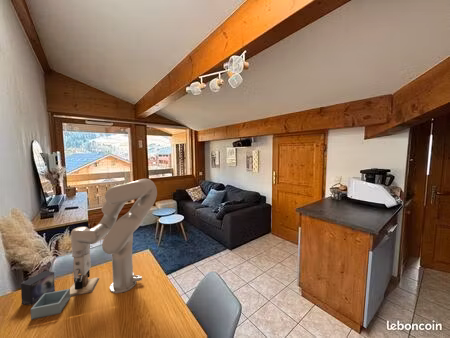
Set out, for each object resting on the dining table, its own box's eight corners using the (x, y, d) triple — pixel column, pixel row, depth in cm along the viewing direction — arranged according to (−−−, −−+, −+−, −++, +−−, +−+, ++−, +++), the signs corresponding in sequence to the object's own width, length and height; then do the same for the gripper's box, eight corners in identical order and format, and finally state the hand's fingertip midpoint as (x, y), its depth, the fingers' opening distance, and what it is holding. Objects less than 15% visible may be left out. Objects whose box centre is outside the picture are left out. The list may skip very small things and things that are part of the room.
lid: (98, 278, 108) (97, 268, 108) (91, 291, 98) (91, 280, 97) (75, 283, 105) (74, 272, 104) (65, 296, 94) (64, 285, 94)
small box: (31, 306, 89) (30, 284, 88) (20, 304, 90) (19, 283, 89) (55, 291, 99) (54, 271, 98) (45, 289, 100) (44, 270, 100)
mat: (99, 278, 109) (99, 278, 109) (92, 292, 97) (92, 292, 97) (74, 283, 105) (74, 282, 105) (63, 298, 94) (63, 297, 94)
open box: (70, 298, 94) (69, 288, 93) (60, 314, 84) (59, 303, 84) (44, 303, 90) (44, 293, 90) (31, 320, 81) (30, 309, 81)
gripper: (83, 258, 93) (84, 292, 94) (94, 243, 109) (96, 272, 110) (64, 260, 91) (66, 295, 92) (79, 245, 107) (80, 274, 108)
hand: (82, 282), depth 101 cm, fingers open, 9 cm apart
